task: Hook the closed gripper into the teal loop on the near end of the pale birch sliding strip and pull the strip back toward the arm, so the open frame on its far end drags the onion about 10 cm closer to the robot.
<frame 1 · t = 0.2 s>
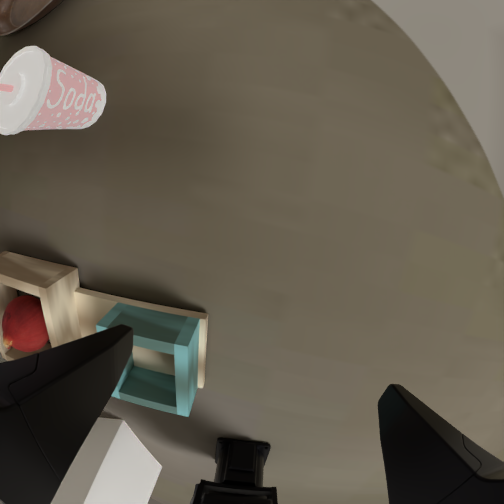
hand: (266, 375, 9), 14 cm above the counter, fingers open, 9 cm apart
milk: (114, 441, 32), on the counter
onion: (47, 307, 26), resting in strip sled
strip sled: (76, 336, 23), point 3 cm above the counter, slide at 0.0 cm
beverage cup: (86, 104, 19), on the counter
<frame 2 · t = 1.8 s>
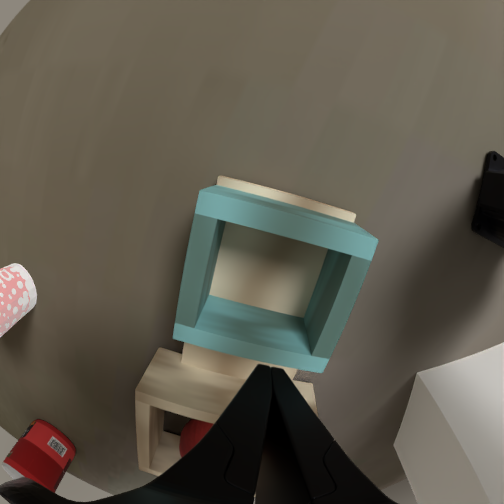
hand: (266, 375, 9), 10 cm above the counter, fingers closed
canned food: (55, 435, 28), on the counter
milk: (451, 397, 21), on the counter
onion: (222, 412, 22), resting in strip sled
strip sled: (234, 386, 18), point 3 cm above the counter, slide at 0.0 cm
beverage cup: (22, 285, 20), on the counter
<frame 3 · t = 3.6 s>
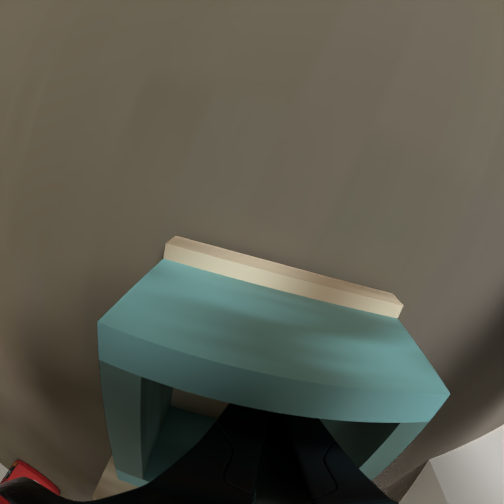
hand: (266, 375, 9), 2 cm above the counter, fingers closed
canned food: (38, 475, 21), on the counter
milk: (461, 466, 15), on the counter
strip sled: (213, 495, 11), point 3 cm above the counter, slide at 1.0 cm, touching gripper
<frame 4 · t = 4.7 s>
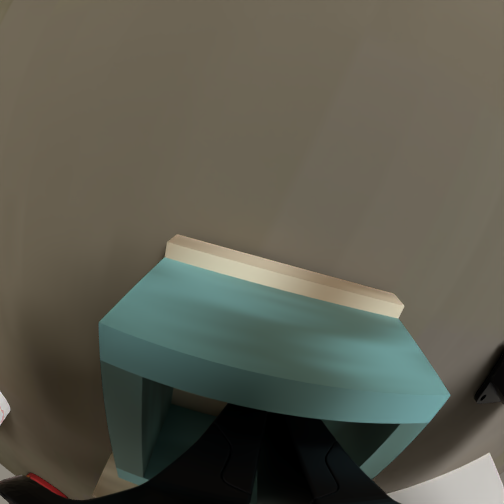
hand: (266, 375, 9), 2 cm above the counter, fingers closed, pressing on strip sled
canned food: (49, 485, 23), on the counter
milk: (423, 496, 17), on the counter
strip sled: (213, 493, 11), point 3 cm above the counter, slide at 7.0 cm, touching gripper, onion
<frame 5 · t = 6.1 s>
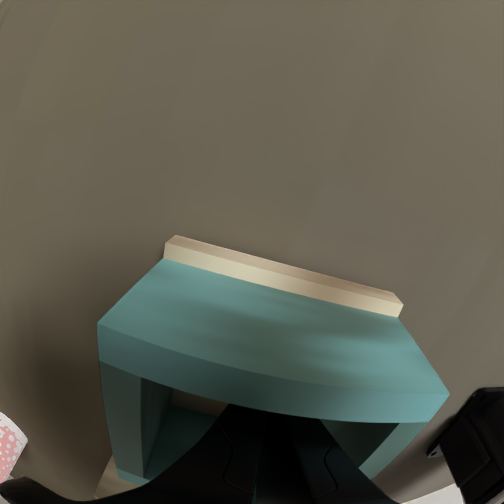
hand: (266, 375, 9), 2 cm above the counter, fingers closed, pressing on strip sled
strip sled: (214, 493, 11), point 3 cm above the counter, slide at 12.7 cm, touching gripper, onion
beverage cup: (12, 426, 17), on the counter
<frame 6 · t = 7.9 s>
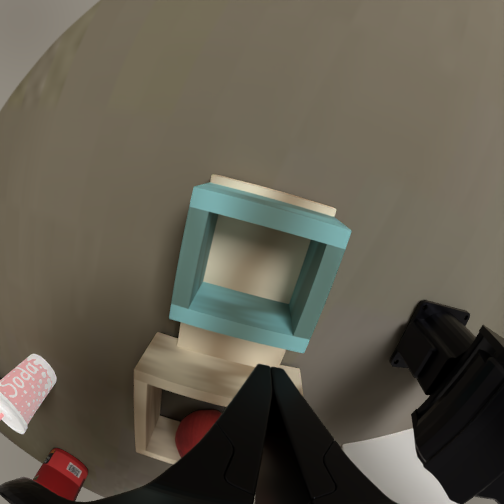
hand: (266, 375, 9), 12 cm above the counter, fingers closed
canned food: (71, 459, 33), on the counter
milk: (381, 456, 27), on the counter
onion: (214, 410, 25), resting in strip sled
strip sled: (225, 367, 19), point 3 cm above the counter, slide at 12.8 cm, touching onion
beverage cup: (43, 368, 26), on the counter
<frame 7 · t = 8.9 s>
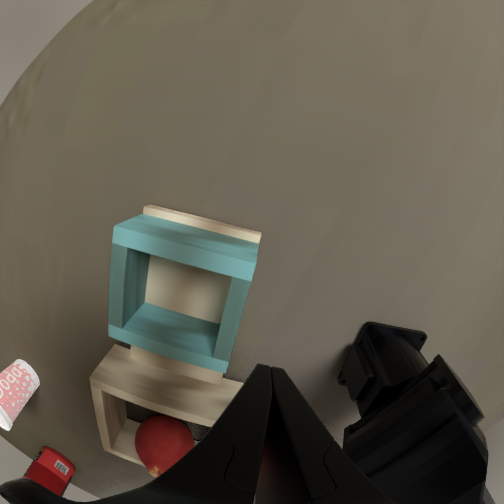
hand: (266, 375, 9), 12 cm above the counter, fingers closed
canned food: (59, 457, 34), on the counter
onion: (173, 416, 26), resting in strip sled
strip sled: (169, 379, 20), point 3 cm above the counter, slide at 12.8 cm, touching onion
beverage cup: (28, 372, 27), on the counter
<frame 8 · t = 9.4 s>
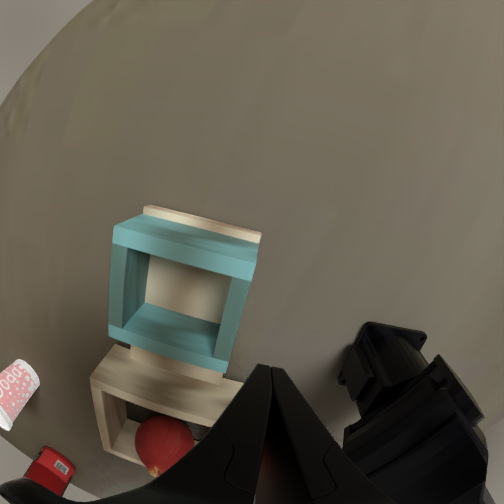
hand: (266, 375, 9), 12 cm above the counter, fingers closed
canned food: (59, 457, 34), on the counter
onion: (173, 416, 26), resting in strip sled
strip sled: (169, 379, 20), point 3 cm above the counter, slide at 12.8 cm, touching onion
beverage cup: (28, 372, 27), on the counter
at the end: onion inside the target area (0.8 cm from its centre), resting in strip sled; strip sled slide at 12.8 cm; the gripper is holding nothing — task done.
